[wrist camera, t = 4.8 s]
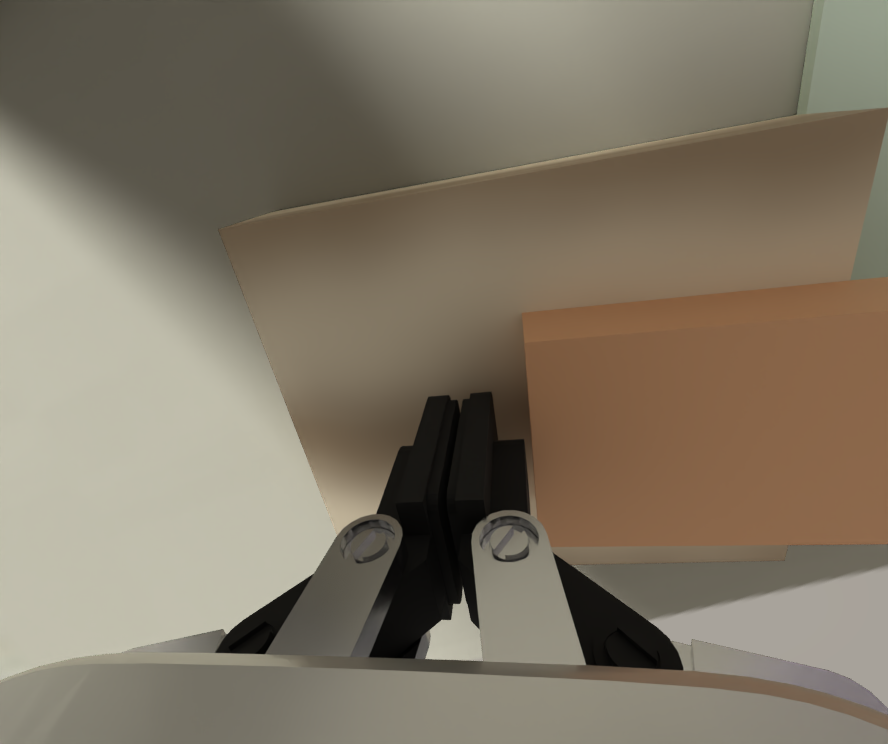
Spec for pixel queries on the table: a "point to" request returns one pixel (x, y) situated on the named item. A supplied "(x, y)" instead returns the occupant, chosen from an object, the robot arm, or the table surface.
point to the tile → (713, 418)
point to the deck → (532, 280)
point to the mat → (853, 98)
